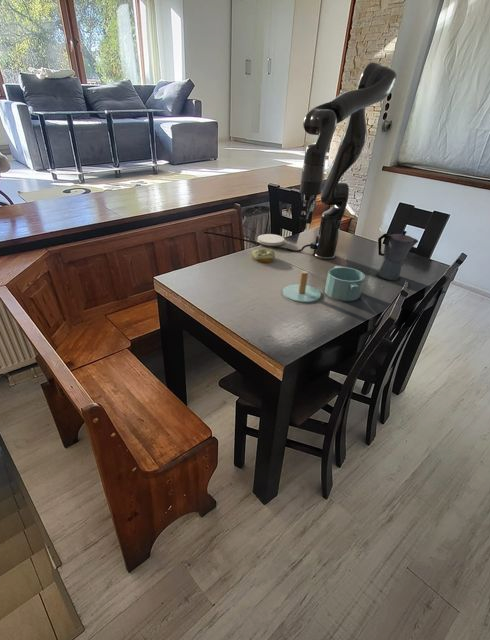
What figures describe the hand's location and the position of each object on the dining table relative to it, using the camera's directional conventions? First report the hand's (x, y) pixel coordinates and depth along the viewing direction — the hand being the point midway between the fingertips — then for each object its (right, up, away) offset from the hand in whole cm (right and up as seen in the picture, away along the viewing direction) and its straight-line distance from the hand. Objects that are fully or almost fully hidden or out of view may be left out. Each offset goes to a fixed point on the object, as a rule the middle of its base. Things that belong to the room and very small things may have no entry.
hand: (305, 226), depth 133 cm
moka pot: (+41, -14, +24) cm, 50 cm away
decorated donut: (-12, -3, +38) cm, 40 cm away
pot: (+17, -24, +10) cm, 30 cm away
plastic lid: (-6, +10, +57) cm, 58 cm away
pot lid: (0, -24, +8) cm, 25 cm away
